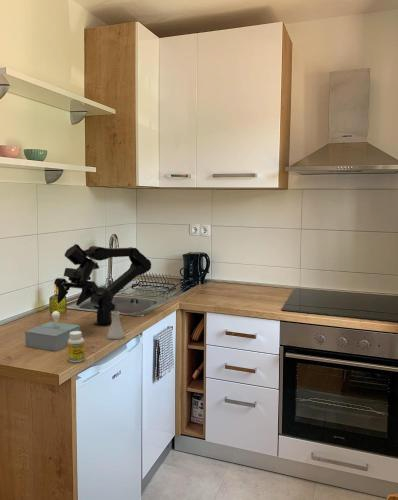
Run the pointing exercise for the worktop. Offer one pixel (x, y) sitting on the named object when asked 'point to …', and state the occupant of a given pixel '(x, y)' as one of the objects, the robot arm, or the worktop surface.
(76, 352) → the supplement bottle
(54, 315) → the near flap
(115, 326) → the flask
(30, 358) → the worktop surface
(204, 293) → the worktop surface
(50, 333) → the carton
